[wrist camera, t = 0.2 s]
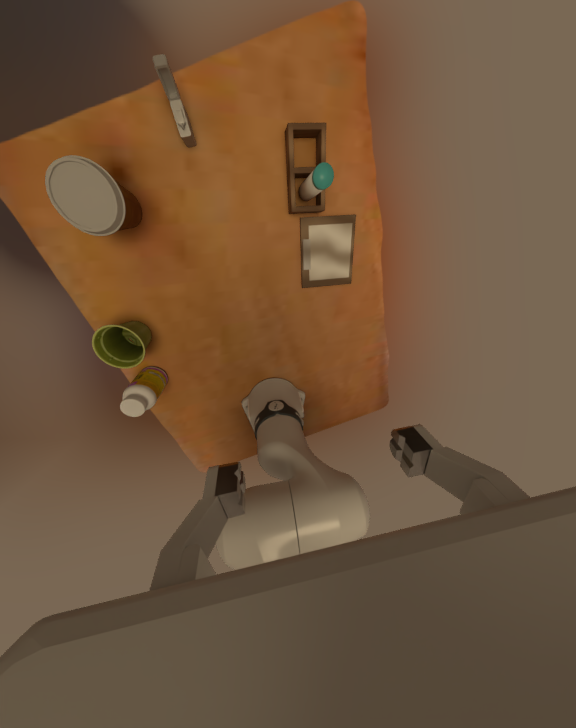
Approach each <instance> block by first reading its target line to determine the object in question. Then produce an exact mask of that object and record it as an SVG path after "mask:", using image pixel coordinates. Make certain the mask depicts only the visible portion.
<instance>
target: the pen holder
mask: <svg viewBox="0 0 576 728" xmlns="http://www.w3.org/2000/svg"><path fill="white" fill-rule="evenodd" d="M293 138H316V167H317V165H319V164H320V163H323V162H325V163H326V123H288V125H287V128H286V131H285V142H286V164H287V185H288V206H289V214H298V213H317V212H322V211H324V210H325V189H324V190H323V191H321V192H320V193H319V194H317V195H316V206H299V207H296V203H295V178H307V177H308V176H309V175H310V174H311V173H312V172H313V171H314V169H315V168H316V167H299V168H294V146H293Z"/></svg>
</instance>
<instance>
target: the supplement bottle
mask: <svg viewBox="0 0 576 728" xmlns="http://www.w3.org/2000/svg"><path fill="white" fill-rule="evenodd" d="M167 382H168V377H167V375H166V373H165V372H164V371H163V370H162V369H160V368H157V367H146V368H144V369H143V370H142V371H141V372H140V373H139V374H138V375H137V376H136V378H135V379H134V380H133V381H132V382H131V384H130V385H129V386H128V387H127V388H126V390H125V391H124V393H123V401H122V402H121V404H120V409H121V411H122V412H123V413H124V414H126V415H128V416H131V417H137V416H140V415H142V414H143V413H144V412H145V410H148V409H150V408H151V407H153V406H154V404H155V403H156V401H157V399H158V398H159V396H160V394H161V392H162V391H163V389H164V387H165V386H166V384H167Z"/></svg>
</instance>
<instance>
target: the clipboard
mask: <svg viewBox="0 0 576 728" xmlns="http://www.w3.org/2000/svg"><path fill="white" fill-rule="evenodd" d="M355 220H356V215H340V216H322V217H304V218H300V238H301V274H302V288H307V287H318V286H330V285H341V284H351V277H352V263H353V248H354V234H355Z"/></svg>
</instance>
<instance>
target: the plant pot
mask: <svg viewBox="0 0 576 728" xmlns="http://www.w3.org/2000/svg"><path fill="white" fill-rule="evenodd" d="M129 338H130V339H131V340H132V341H134V342H132V341H130V340H129ZM151 338H152V336H151V332H150V329H149V328H148V327H147V326H146V325H145V324H143V323H141V322H137V321H130V322H127V323H124V324H120V325H106V326H103V327H101V328H99V329H98V330H97V331H96V332H95V333H94V335H93V338H92V346H93V349H94V351H95V353H96V354H97V356H98V357H99V358H100V359H101V360H102V361H104V362H105V363H107V364H108V365H111V366H113V367H117V368H132V367H135V366H137V365H138V364H140V363H141V362H142V360H143V359H144V357H145V349H146V348H147V346H148V344H149V342H150V341H151Z"/></svg>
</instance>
